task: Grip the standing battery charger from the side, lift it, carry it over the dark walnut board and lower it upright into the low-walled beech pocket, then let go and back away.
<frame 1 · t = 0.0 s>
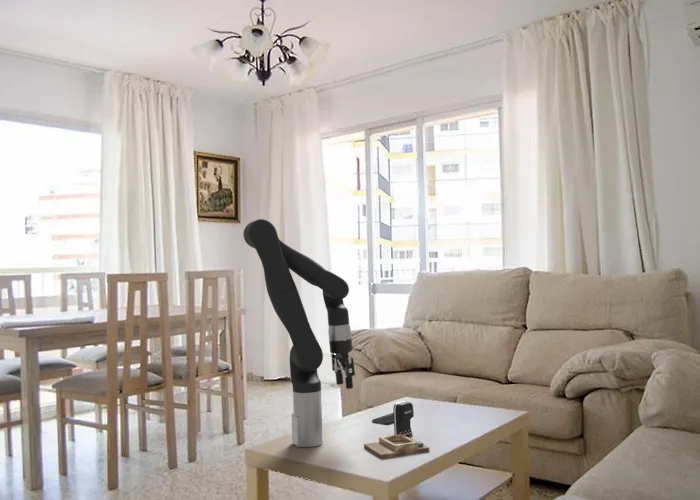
hand: (344, 386, 209), 17 cm above the table, tool pointing down, fingers open, 8 cm apart
board: (396, 449, 193), on the table
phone: (391, 420, 232), on the table
battery charger: (404, 437, 207), on the table
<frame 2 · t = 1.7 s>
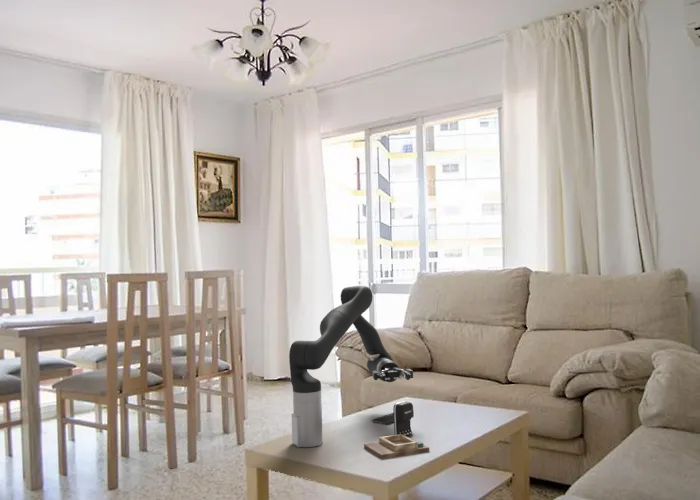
hand: (396, 377, 219), 18 cm above the table, tool horizontal, fingers open, 8 cm apart
nothing on the table moved.
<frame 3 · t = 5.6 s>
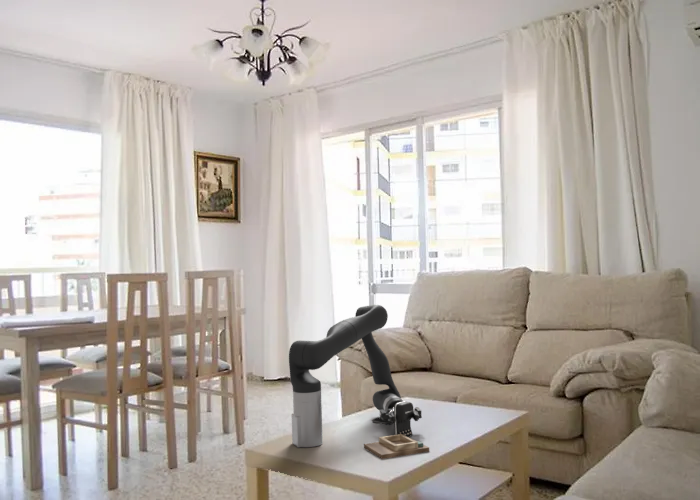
hand: (405, 418, 206), 7 cm above the table, tool horizontal, fingers closed on battery charger, 7 cm apart
battery charger: (405, 437, 207), on the table, touching gripper
everything else where it was.
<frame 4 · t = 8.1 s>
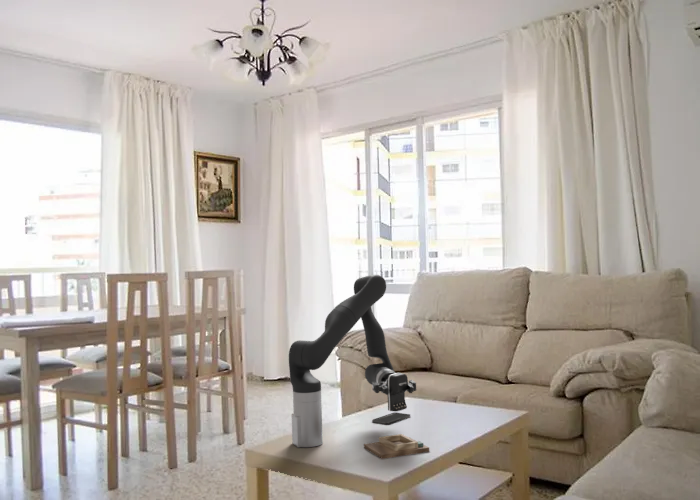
hand: (399, 390, 195), 18 cm above the table, tool horizontal, fingers closed on battery charger, 7 cm apart
battery charger: (398, 410, 197), point 11 cm above the table, touching gripper
everything else where it was.
when the fingers open (9 cm above the table, at t = 10.7 s): battery charger stays where it is, resting on board.
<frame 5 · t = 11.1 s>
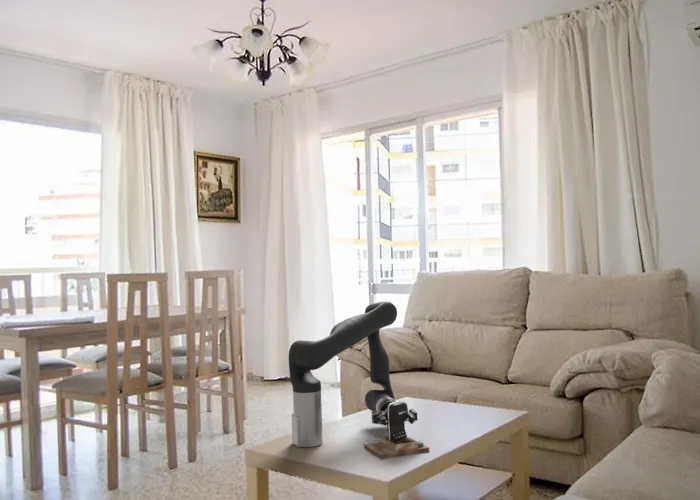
hand: (398, 421, 193), 9 cm above the table, tool horizontal, fingers open, 8 cm apart
battery charger: (398, 440, 194), point 3 cm above the table, touching board
everything else where it was.
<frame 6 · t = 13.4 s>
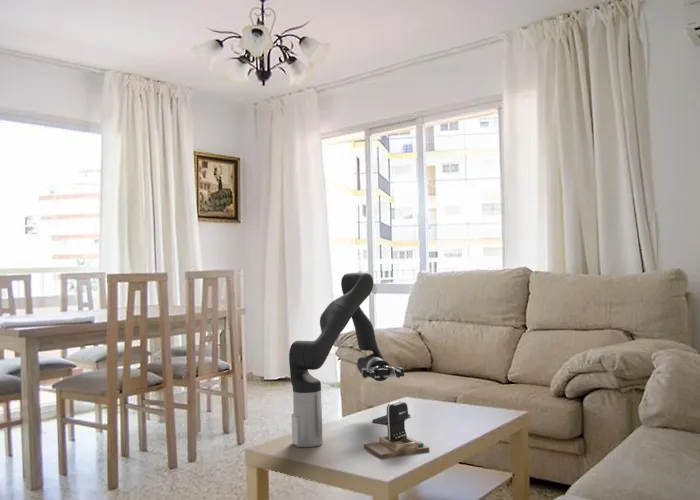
hand: (386, 375, 208), 21 cm above the table, tool horizontal, fingers open, 8 cm apart
nothing on the table moved.
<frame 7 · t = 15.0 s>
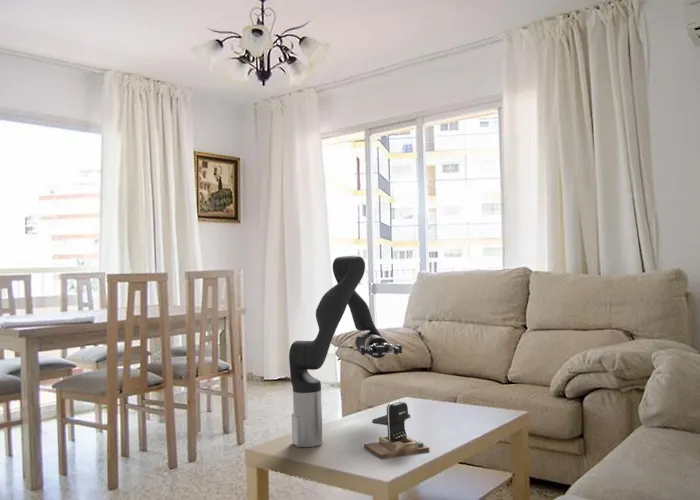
hand: (384, 352, 210), 28 cm above the table, tool horizontal, fingers open, 8 cm apart
nothing on the table moved.
at the end: battery charger 0.3 cm from the target spot on the board, point 2.6 cm above the board's base; battery charger tilted 0°; the gripper is holding nothing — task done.
